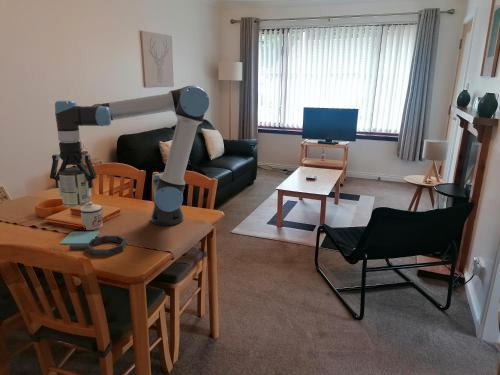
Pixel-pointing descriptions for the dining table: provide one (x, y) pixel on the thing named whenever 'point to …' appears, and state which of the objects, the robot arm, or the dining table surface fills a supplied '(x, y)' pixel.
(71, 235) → the teal pad
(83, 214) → the teacup with lid
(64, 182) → the coffee can
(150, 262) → the dining table surface
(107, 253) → the ring
